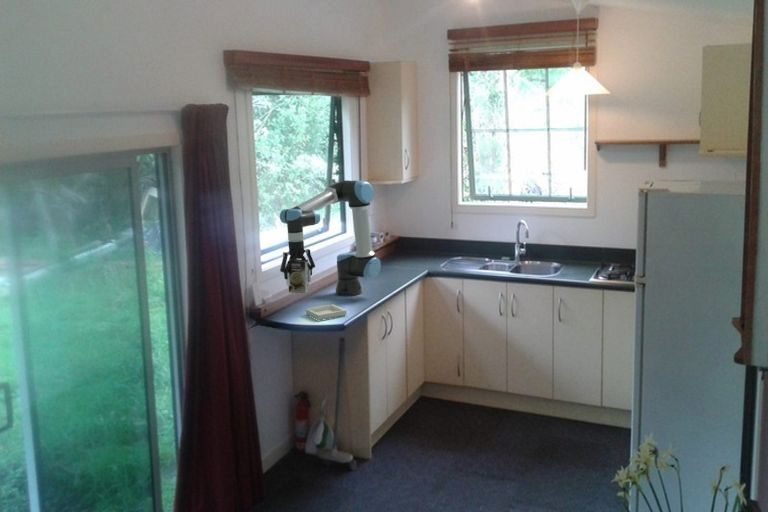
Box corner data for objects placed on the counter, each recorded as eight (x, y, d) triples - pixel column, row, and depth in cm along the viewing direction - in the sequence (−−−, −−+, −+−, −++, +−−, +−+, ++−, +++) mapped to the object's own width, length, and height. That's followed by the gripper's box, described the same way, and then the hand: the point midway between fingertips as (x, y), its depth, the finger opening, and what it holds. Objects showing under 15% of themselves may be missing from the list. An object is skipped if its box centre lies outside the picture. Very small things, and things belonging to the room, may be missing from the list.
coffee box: (288, 293, 371) (286, 261, 368) (292, 290, 377) (290, 258, 374) (306, 293, 369) (304, 261, 366) (309, 290, 375) (308, 259, 372)
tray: (333, 309, 388) (332, 304, 388) (346, 315, 375) (346, 310, 375) (306, 314, 381) (305, 308, 380) (318, 321, 368) (318, 315, 367)
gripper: (314, 236, 377) (316, 278, 381) (271, 242, 366) (274, 285, 370) (320, 238, 370) (323, 281, 374) (276, 244, 359) (280, 288, 363)
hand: (298, 283), depth 372 cm, fingers closed on coffee box, 11 cm apart
